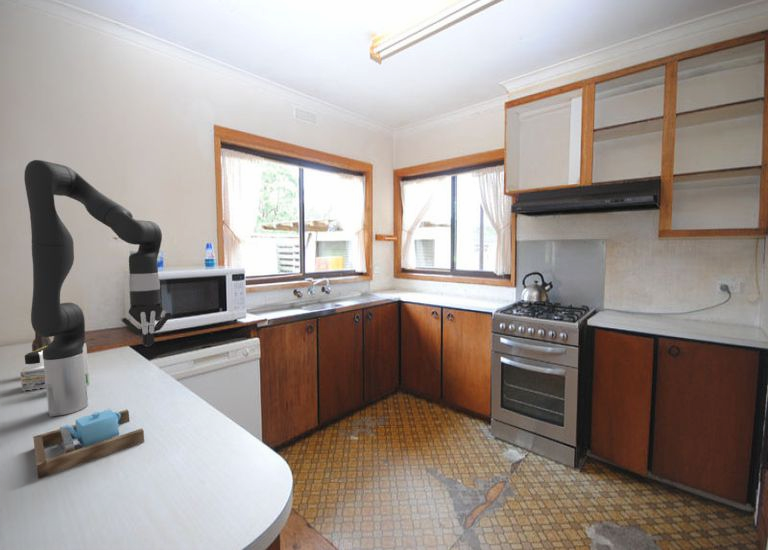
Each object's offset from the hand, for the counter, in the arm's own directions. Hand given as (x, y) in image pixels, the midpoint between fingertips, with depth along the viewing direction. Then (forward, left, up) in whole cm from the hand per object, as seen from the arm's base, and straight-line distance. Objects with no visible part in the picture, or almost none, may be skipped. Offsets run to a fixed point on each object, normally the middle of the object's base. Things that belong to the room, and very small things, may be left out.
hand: (148, 345), depth 107 cm
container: (-23, +58, -21) cm, 65 cm away
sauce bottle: (-20, +75, -21) cm, 80 cm away
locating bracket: (-16, -9, -20) cm, 28 cm away
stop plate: (-20, -9, -20) cm, 30 cm away
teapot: (-15, -9, -21) cm, 27 cm away
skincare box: (-15, +47, -21) cm, 53 cm away
